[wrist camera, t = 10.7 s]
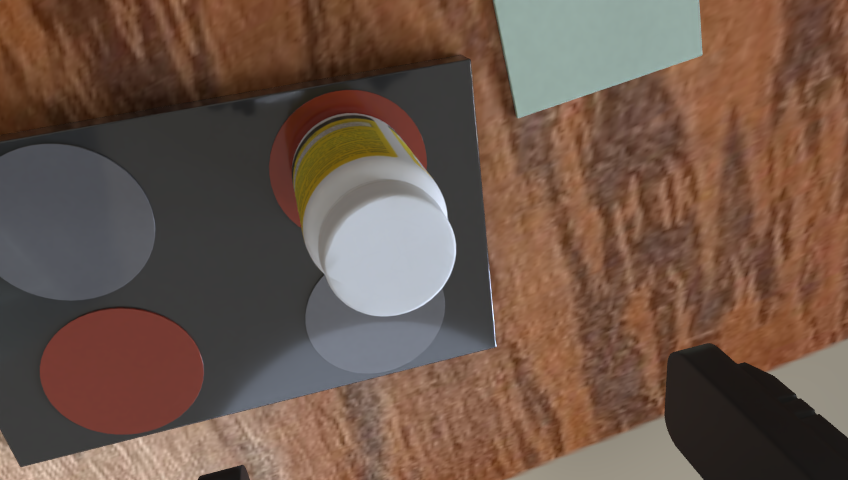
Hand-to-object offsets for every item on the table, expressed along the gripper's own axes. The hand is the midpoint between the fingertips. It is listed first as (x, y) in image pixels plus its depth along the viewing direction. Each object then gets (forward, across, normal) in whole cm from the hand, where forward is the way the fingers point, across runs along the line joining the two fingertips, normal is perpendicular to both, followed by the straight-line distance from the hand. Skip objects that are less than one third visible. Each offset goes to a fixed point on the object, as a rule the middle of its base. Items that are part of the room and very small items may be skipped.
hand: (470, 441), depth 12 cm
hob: (+18, +6, +4) cm, 19 cm away
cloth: (+18, -12, -5) cm, 22 cm away
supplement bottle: (+16, 0, 0) cm, 17 cm away
